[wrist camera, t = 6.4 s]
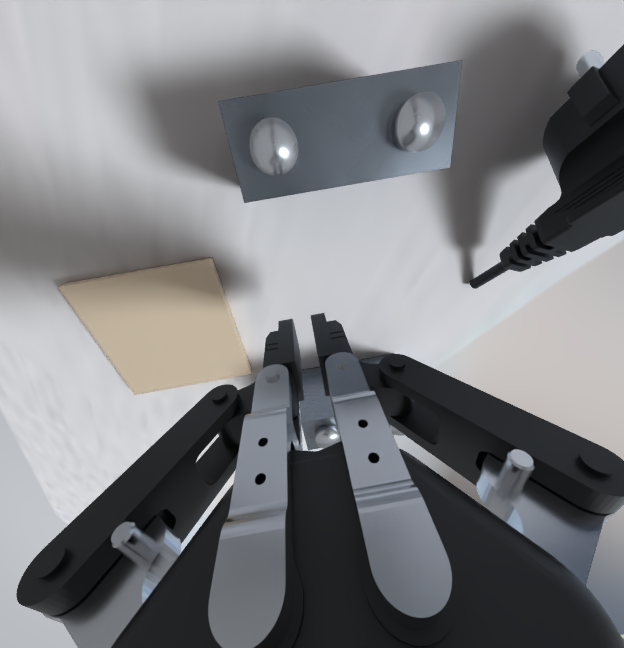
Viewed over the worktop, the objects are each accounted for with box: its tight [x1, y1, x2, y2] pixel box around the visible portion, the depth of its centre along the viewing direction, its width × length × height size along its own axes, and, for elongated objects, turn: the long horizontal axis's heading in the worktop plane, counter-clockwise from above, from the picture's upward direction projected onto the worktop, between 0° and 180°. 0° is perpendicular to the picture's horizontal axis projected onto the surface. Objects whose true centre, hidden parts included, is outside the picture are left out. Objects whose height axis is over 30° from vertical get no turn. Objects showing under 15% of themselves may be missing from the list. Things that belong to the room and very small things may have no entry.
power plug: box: [470, 45, 624, 289], centre depth 14 cm, size 6×8×12 cm
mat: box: [58, 258, 251, 395], centre depth 18 cm, size 9×9×1 cm
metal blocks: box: [218, 60, 462, 450], centre depth 15 cm, size 19×8×6 cm, turn 8°
